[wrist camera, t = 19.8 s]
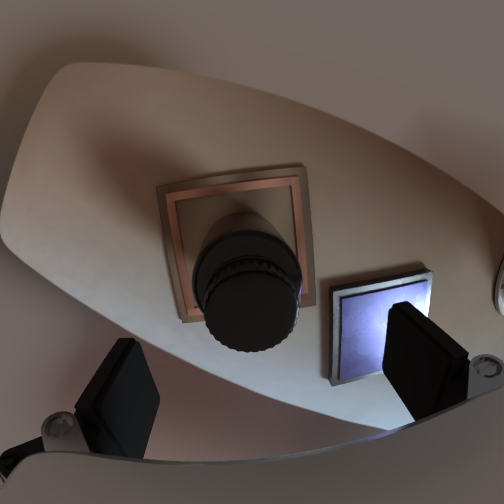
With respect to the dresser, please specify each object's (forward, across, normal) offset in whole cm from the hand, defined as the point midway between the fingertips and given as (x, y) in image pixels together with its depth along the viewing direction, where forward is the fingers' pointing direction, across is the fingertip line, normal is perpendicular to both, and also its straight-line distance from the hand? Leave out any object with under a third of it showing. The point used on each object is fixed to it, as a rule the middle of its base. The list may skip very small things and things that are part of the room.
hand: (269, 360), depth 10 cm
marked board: (+16, +1, 0) cm, 17 cm away
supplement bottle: (+16, +1, 0) cm, 16 cm away
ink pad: (+17, -13, +11) cm, 24 cm away
